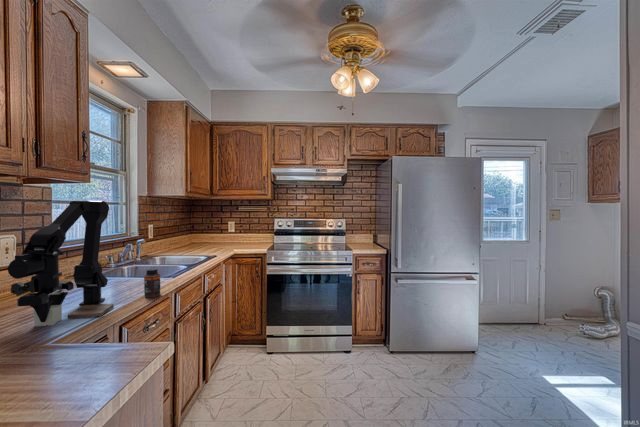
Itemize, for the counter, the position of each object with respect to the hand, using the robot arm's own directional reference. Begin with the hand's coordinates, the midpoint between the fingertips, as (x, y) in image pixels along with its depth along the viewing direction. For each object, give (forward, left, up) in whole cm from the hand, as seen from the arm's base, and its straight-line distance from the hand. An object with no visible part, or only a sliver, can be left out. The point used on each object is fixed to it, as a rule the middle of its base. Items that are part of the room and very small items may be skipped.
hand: (48, 318), depth 103 cm
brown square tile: (-8, +9, -1) cm, 12 cm away
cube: (0, 0, -1) cm, 1 cm away
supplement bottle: (-25, +24, -1) cm, 35 cm away
